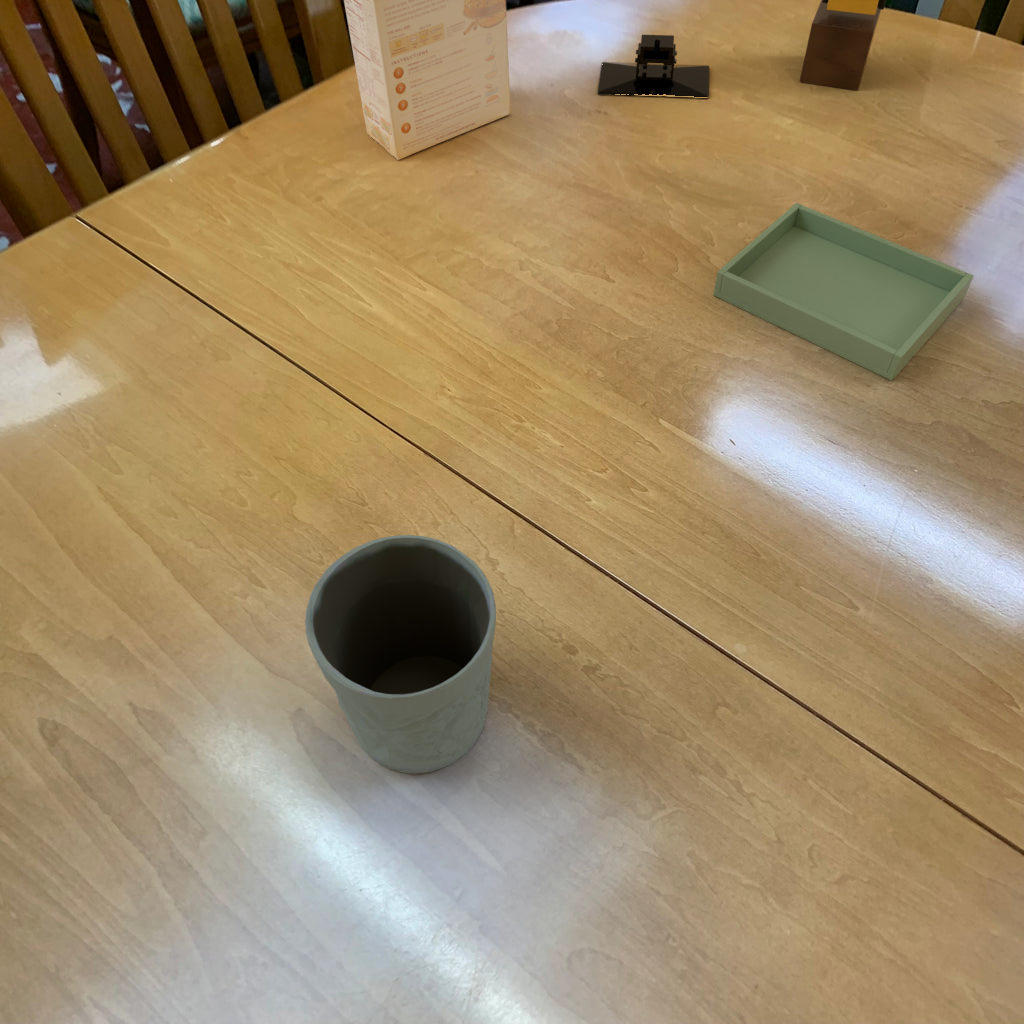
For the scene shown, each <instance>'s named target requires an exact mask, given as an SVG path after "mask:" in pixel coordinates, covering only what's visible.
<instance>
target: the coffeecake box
mask: <svg viewBox="0 0 1024 1024" xmlns="http://www.w3.org/2000/svg"><path fill="white" fill-rule="evenodd" d="M343 3H344V8H345V9H344V10H345V13H346V14H345V15H346V20H347V25H348V32H349V37H350V43H351V49H352V50H351V51H352V55H353V60H354V66H355V73H356V79H357V84H358V90H359V96H360V101H361V107H362V114H363V118H364V125H365V129H366V134H367V133H368V134H369V135H370V136H371V137H372V138H373V139H375V140H376V141H377V142H378V143H379V144H378V143H377V142H376V141H375V142H376V143H377V144H378V145H380V146H382V148H383V149H385V151H387V153H388V154H390V155H391V157H393V156H394V157H393V158H394V159H395V160H397V161H399V160H402V159H404V158H407V157H409V156H411V155H413V154H416V153H419V152H420V151H424V150H425V149H428V148H430V147H433V146H436V145H437V144H441V143H443V142H445V141H447V140H450V139H453V138H455V137H458V136H460V135H463V134H466V133H467V132H470V131H472V130H474V129H477V128H481V127H482V126H484V125H487V124H489V123H493V122H494V121H496V120H500V119H502V118H505V117H506V116H510V115H511V113H512V112H511V111H512V110H511V89H510V88H511V87H510V66H509V63H510V62H509V42H508V41H509V40H508V20H507V19H508V18H507V15H508V14H507V0H343ZM370 136H369V137H370ZM371 137H370V138H371ZM372 138H371V139H372ZM373 139H372V140H373Z"/></svg>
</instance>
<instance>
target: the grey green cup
mask: <svg viewBox="0 0 1024 1024" xmlns="http://www.w3.org/2000/svg"><path fill="white" fill-rule="evenodd" d="M307 602H308V603H307V605H306V609H305V620H304V625H305V627H304V628H305V635H306V640H307V644H308V646H309V648H310V651H311V653H312V655H313V657H314V659H315V662H316V663H317V665H318V668H319V669H320V671H321V673H322V674H323V677H324V678H325V680H326V681H327V682H328V683H329V685H330V686H331V688H332V689H333V690H334V692H335V695H336V699H337V703H338V706H339V708H340V709H341V710H342V711H343V712H344V715H345V717H346V720H347V723H348V725H349V727H350V729H351V731H352V733H353V735H354V737H355V739H356V740H357V742H358V744H359V745H360V747H361V748H362V750H363V751H364V752H365V753H366V755H368V756H369V757H370V758H371V759H372V760H373V761H375V762H377V763H378V764H380V765H381V766H383V767H385V768H387V769H389V770H393V771H396V772H398V773H399V772H400V773H403V774H426V773H432V772H436V771H439V770H442V769H444V768H446V767H448V766H451V765H452V764H453V763H455V762H457V761H458V760H460V759H461V758H463V756H465V755H466V754H467V753H468V752H469V751H470V750H471V749H472V748H473V746H474V745H475V744H476V742H477V740H478V739H479V738H480V736H481V734H482V732H483V730H484V728H485V724H486V721H487V718H488V710H489V696H490V687H491V686H490V683H491V676H492V663H493V655H492V652H493V649H494V645H493V644H494V640H495V632H496V622H497V605H496V600H495V594H494V591H493V589H492V586H491V584H490V581H489V580H488V578H487V576H486V575H485V572H484V571H483V570H482V568H480V567H479V565H478V564H477V563H476V561H474V560H473V559H472V558H470V556H468V555H466V554H465V553H464V552H462V551H461V550H459V549H458V547H456V546H454V545H452V544H449V543H447V542H444V541H442V540H439V539H438V538H433V537H429V536H425V535H424V536H423V535H414V534H400V535H399V534H398V535H391V536H385V537H380V538H376V539H372V540H370V541H367V542H365V543H363V544H360V545H358V546H355V547H354V548H352V549H350V550H349V551H347V552H346V553H344V554H343V555H341V556H340V557H339V558H338V559H336V560H335V561H334V562H333V563H331V565H329V566H328V567H327V568H326V569H325V570H324V572H323V573H322V575H321V576H320V577H319V579H318V580H317V582H316V583H315V584H314V586H313V589H312V590H311V593H310V595H309V598H308V601H307Z"/></svg>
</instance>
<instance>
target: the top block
mask: <svg viewBox="0 0 1024 1024" xmlns="http://www.w3.org/2000/svg"><path fill="white" fill-rule="evenodd" d="M878 2H879V0H829V1H828V6H827V10H834V11H843V12H852V13H861V14H870V15H875V13H876V10H877V6H878Z"/></svg>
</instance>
